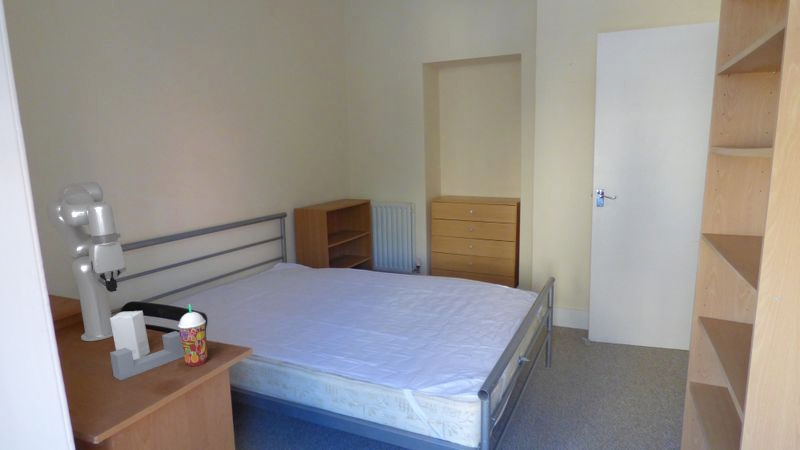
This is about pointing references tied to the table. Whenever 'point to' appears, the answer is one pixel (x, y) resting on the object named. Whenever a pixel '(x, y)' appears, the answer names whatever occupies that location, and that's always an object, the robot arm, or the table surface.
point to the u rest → (146, 357)
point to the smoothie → (193, 338)
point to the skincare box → (130, 333)
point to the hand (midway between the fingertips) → (112, 290)
